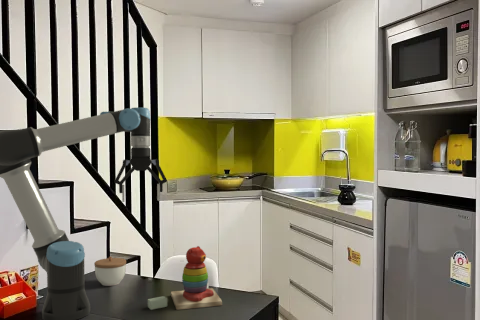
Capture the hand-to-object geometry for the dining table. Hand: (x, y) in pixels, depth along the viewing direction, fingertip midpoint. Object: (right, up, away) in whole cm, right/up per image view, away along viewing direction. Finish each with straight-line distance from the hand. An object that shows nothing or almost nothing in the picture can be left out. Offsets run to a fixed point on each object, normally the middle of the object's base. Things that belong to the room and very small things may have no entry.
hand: (141, 201), depth 180 cm
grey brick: (+23, -35, 0) cm, 42 cm away
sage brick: (+10, -35, -20) cm, 42 cm away
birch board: (+23, -35, -14) cm, 44 cm away
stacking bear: (+23, -34, -14) cm, 43 cm away
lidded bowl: (-14, -35, +8) cm, 39 cm away
